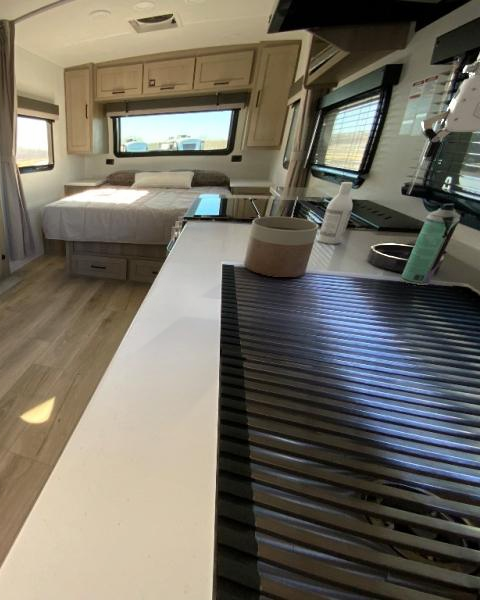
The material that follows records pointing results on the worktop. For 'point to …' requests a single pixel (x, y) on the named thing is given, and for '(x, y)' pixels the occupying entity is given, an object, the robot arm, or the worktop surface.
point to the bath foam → (337, 216)
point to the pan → (393, 256)
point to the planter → (280, 246)
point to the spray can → (430, 245)
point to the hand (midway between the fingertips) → (457, 160)
